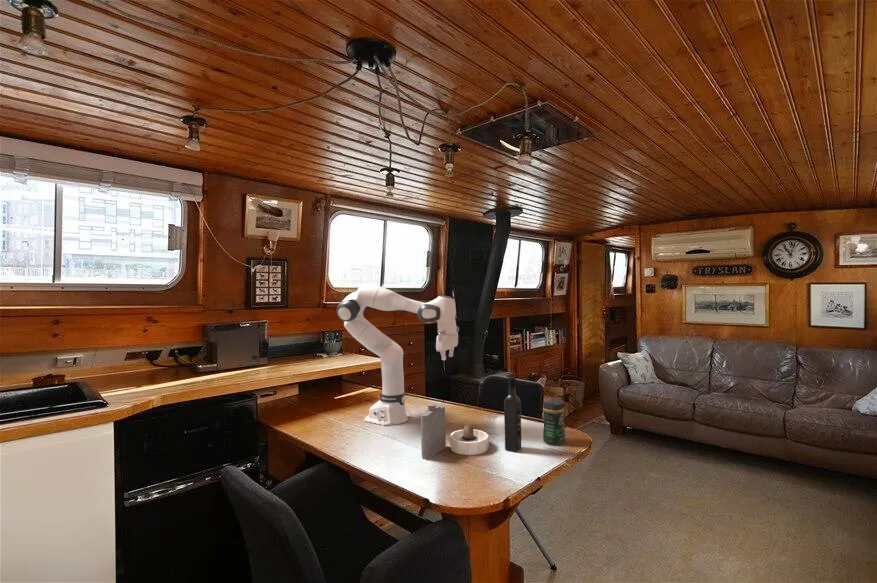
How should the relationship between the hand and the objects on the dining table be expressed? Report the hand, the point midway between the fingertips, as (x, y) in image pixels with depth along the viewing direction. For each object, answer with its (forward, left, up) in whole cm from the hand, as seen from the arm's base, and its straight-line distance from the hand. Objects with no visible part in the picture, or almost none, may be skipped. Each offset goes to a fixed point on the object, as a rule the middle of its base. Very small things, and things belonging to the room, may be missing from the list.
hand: (447, 358), depth 200 cm
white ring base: (+16, -18, -34) cm, 42 cm away
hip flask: (+3, -28, -34) cm, 44 cm away
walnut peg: (+16, -18, -33) cm, 41 cm away
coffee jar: (+49, 0, -34) cm, 60 cm away
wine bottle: (+34, -14, -34) cm, 50 cm away
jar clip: (+16, -18, -34) cm, 42 cm away
